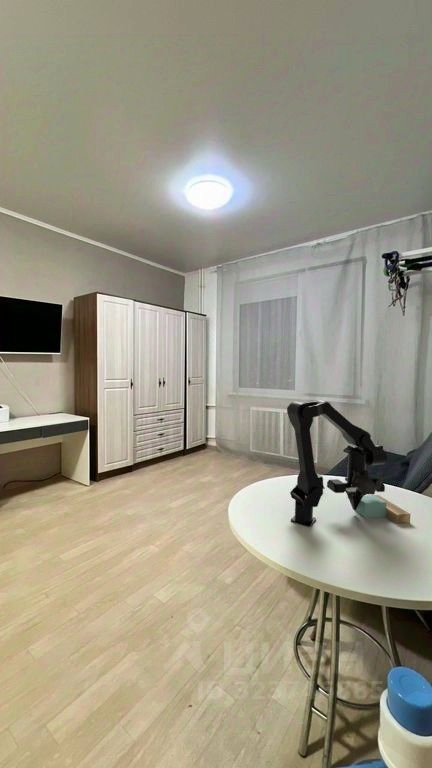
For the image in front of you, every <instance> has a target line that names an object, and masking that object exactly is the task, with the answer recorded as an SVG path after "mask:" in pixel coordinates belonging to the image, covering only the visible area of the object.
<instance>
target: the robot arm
mask: <svg viewBox="0 0 432 768" xmlns="http://www.w3.org/2000/svg"><path fill="white" fill-rule="evenodd" d="M286 412H287V413H286V414H287V417H288V421H289V422H290V424H291V426H292V427H293V429H294V433H295V443H296V450H297V456H298V464H299V473H298V476H297V478H296V480H297V482H296V483H297V484H296V485H295V486H294V488H293V489H292V490H291V491H290V492H289V494H290V498H291V499H293V500H294V501H295V502H294V516H293V517H291V518H290V521H291V522H294V523H296V524H299V525H303V526H306V527H311V526H312V525H313V523H315V522H316V521H317V518H316V517H314V516H313V514H314V511H313V510H314V508H317V507H319V504H320V500H321V499H322V496H323V495H324V490H325V488H326V487H327V489H329V490H330V491H332V492H333V493H335V494H344V493H346V495H347V497H348V500H349V502H350V505H351V507H352V510H354V511H355V510H356V509H357V507H358V505H359V503H360V501H361V499H362V497H363V496H368V495H376V494H375V493H376V492H377V493H384V492H385V491H386V486H385V484H384V482H382V480H381V479H380V478H378V477H376V478H375V477H370V476H369V470H367V466H376V465H385V464H386V463H387V461H388V455H387V452H386V450H385V449H384V445H380V444H374V442H373V440H372V438H371V437H372V435H371V434H370V432H368V431H366V430H365V429H363V428H361V427H359V426H357V425H354V424H353V423H352V422H351V421H349V420H348V419H347V418H346V417H345V416H344V415H343V414H342V413H340V412H339V411H338V410H337V409H336V408H334V406H332V404H331V403H330V402H328V401H326V400H320V399H319V400H315V401H308V402H300V401H292V402H291V403H290V404H289V405H288V406H287V409H286ZM319 416H322V417H324V419H326V420H327V421H328V422H329V423H330V424H332V426H334V427H335V428H336V429H337V430H339V431H340V432H341V435H342V438H344V440H345V441H346V443H348V444H349V445H347V446H346V447H345V448H344V449H343V453H346V454H348V455H347V456H348V458H347V459H348V460H347V465H345V470H347V473H346V474H347V476H346V477H344V481H345V482H343V481H342V480H340V479H337V478H336V479H328V480H327V481H326V487H325V486H324V478H323V476H322V475H320V474H318V473H317V472H316V467H315V459H314V451H313V443H312V436H311V428H312V425H313V422H314V418H316V417H319ZM351 445H352V446H351ZM353 446H354V447H353Z"/></svg>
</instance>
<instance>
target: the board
mask: <svg viewBox="0 0 432 768" xmlns="http://www.w3.org/2000/svg"><path fill="white" fill-rule="evenodd" d="M374 495H375V496H377V497H379V498H380V499H382V500H384V501H385V502H386V516H385V517H386V518H388V519H389V520H391V522H394V524H396V525H397V524H410V523H411V513H409V512H408V511H406V510H405V509H403V508H401V507H400V506H398V505H396V504H395V503H393V502H391V501H389V500H388V499H387V498H385V497H383V496H381V495H379V494H374ZM374 495H372V494H367V496H374Z"/></svg>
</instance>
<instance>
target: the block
mask: <svg viewBox="0 0 432 768" xmlns="http://www.w3.org/2000/svg"><path fill="white" fill-rule="evenodd" d="M375 495H376V494H374V496H368V495H365V496H363V497H362V499H361V501H360V503H359V505H358V507H357V509H356V510H354V511H355V512H357V514H359V515H360V516H361V517H363V518H364V519H367V518H379V517H380V518H383V517H386V502H385V501H384V500H382V499H380V498H379V497H377V496H375Z"/></svg>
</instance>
